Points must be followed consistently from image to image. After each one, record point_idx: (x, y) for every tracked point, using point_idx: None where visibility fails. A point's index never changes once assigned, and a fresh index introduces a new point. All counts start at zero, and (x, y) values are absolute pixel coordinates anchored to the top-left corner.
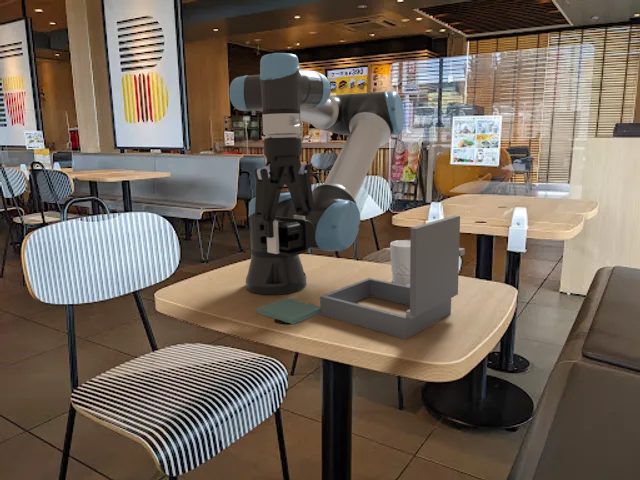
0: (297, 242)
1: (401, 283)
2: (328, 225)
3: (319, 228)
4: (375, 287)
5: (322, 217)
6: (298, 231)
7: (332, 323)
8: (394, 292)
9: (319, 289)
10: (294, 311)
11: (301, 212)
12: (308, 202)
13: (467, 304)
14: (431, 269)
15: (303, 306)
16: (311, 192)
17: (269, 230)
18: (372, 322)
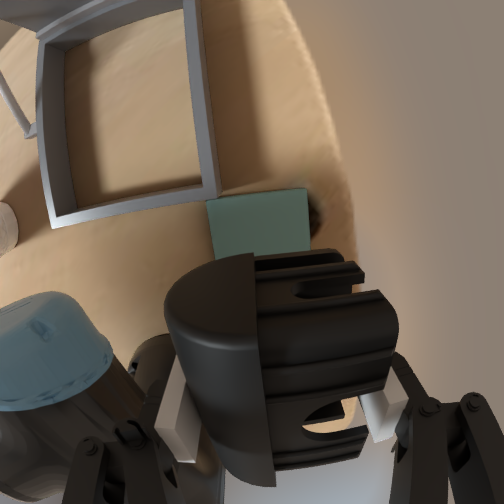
0: (311, 269)
1: (13, 217)
2: (53, 347)
3: (86, 371)
4: (61, 198)
5: (54, 395)
6: (307, 304)
7: (239, 131)
8: (55, 148)
9: (129, 313)
10: (270, 227)
11: (161, 456)
12: (100, 484)
13: (19, 73)
14: None
15: (234, 238)
16: None
17: (410, 374)
18: (203, 49)
